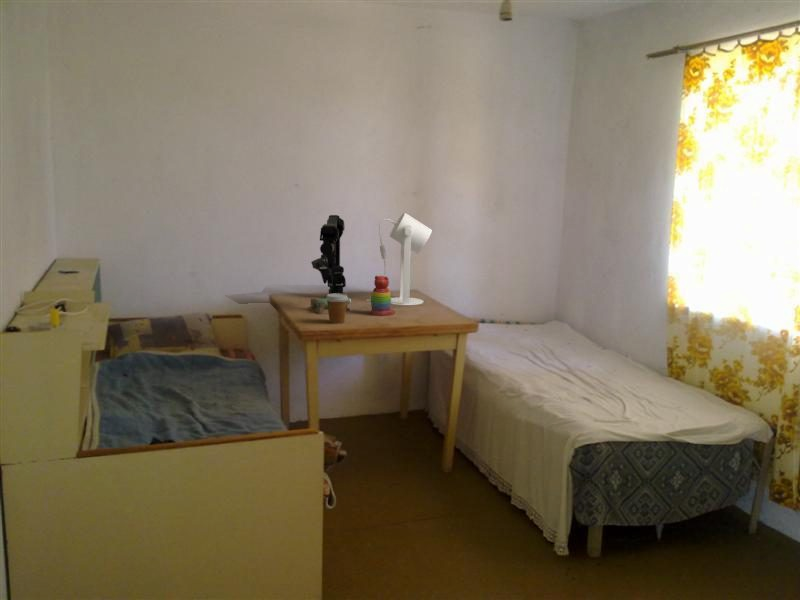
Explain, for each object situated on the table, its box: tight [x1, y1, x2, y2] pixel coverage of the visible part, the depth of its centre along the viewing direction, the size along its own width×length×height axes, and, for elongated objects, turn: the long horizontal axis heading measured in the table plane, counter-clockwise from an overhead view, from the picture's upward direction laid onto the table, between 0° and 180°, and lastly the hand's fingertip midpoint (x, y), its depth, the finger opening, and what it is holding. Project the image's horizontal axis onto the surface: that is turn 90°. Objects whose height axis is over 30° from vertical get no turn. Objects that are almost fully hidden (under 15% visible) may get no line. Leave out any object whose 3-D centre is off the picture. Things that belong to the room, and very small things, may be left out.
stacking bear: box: [370, 275, 396, 317], centre depth 301 cm, size 11×10×18 cm
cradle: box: [307, 298, 351, 315], centre depth 308 cm, size 16×12×5 cm
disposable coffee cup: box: [325, 293, 349, 325], centre depth 283 cm, size 10×10×12 cm
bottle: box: [316, 298, 352, 309], centre depth 309 cm, size 17×4×4 cm, turn 122°
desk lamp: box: [366, 212, 433, 306], centre depth 327 cm, size 21×32×45 cm, turn 95°
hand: (329, 285), depth 308 cm, fingers open, 9 cm apart
